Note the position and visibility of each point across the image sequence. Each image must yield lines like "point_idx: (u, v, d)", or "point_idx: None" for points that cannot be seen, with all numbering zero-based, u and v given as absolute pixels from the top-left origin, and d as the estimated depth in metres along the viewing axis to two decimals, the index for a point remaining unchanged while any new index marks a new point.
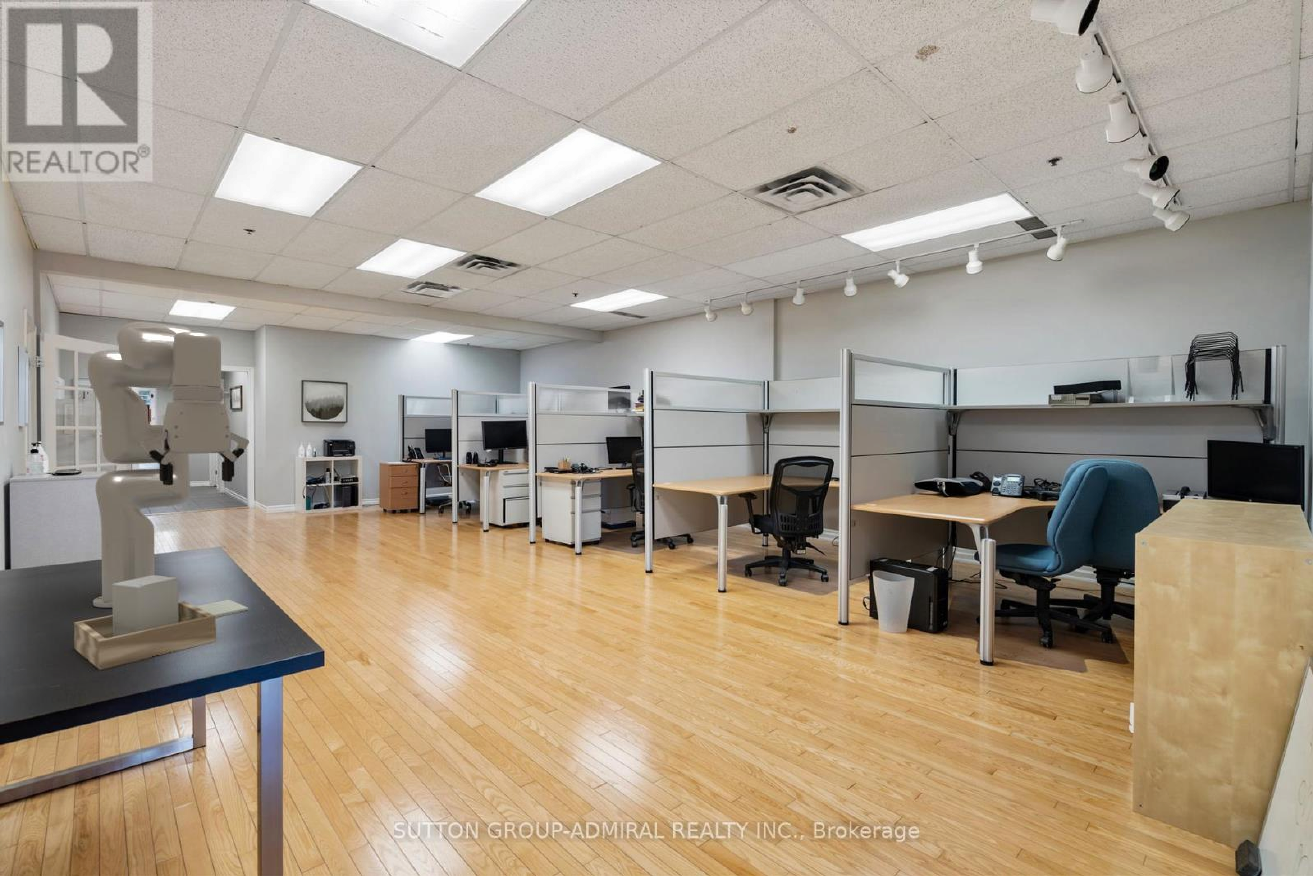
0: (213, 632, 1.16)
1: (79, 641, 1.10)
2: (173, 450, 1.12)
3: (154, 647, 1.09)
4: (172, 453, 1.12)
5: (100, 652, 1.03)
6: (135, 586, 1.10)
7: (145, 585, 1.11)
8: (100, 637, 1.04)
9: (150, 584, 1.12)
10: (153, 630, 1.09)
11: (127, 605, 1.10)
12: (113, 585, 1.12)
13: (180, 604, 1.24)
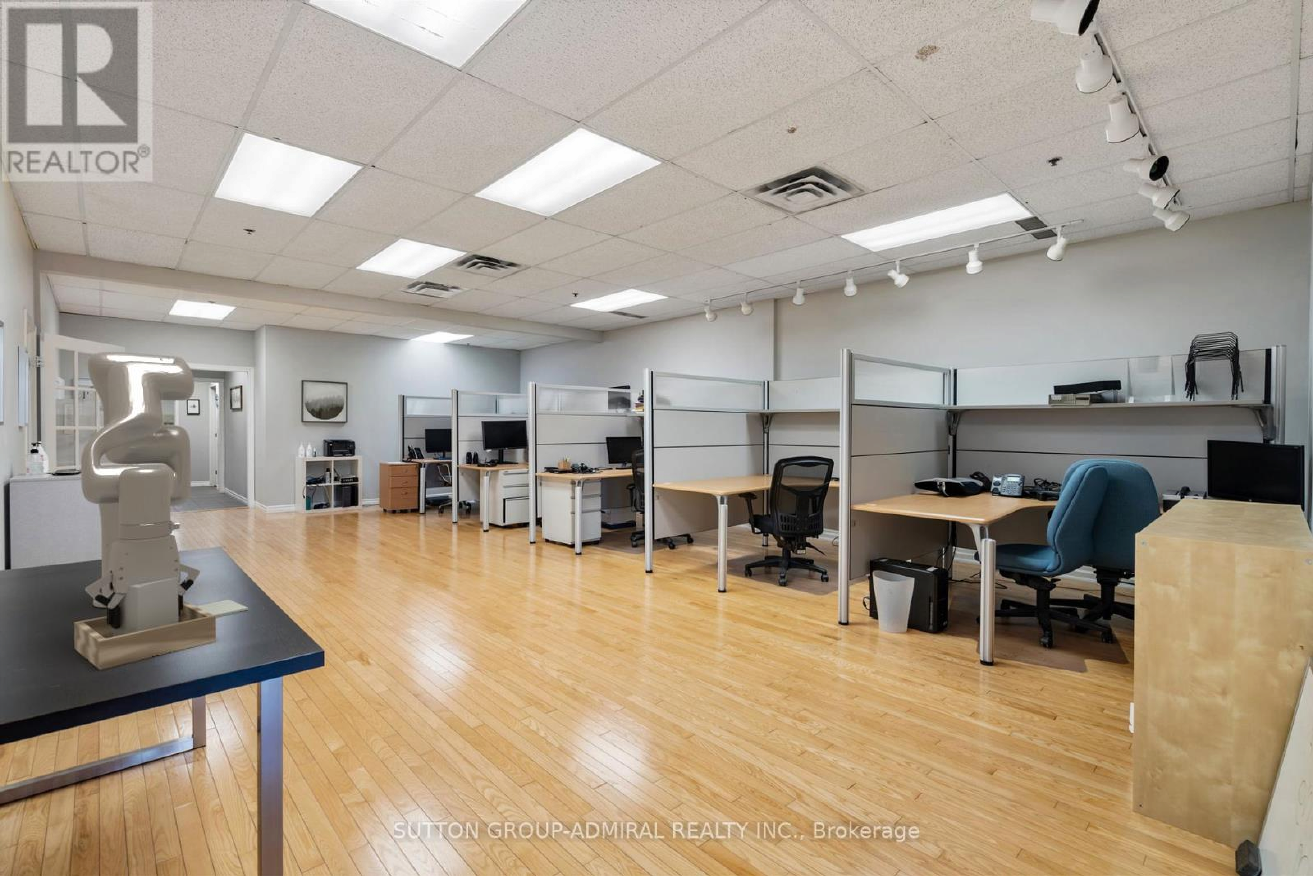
0: (213, 632, 1.16)
1: (79, 641, 1.10)
2: (118, 592, 1.09)
3: (154, 647, 1.09)
4: (118, 595, 1.10)
5: (100, 652, 1.03)
6: (135, 586, 1.10)
7: (145, 585, 1.11)
8: (100, 637, 1.04)
9: (150, 584, 1.12)
10: (153, 630, 1.09)
11: (127, 605, 1.10)
12: None
13: None
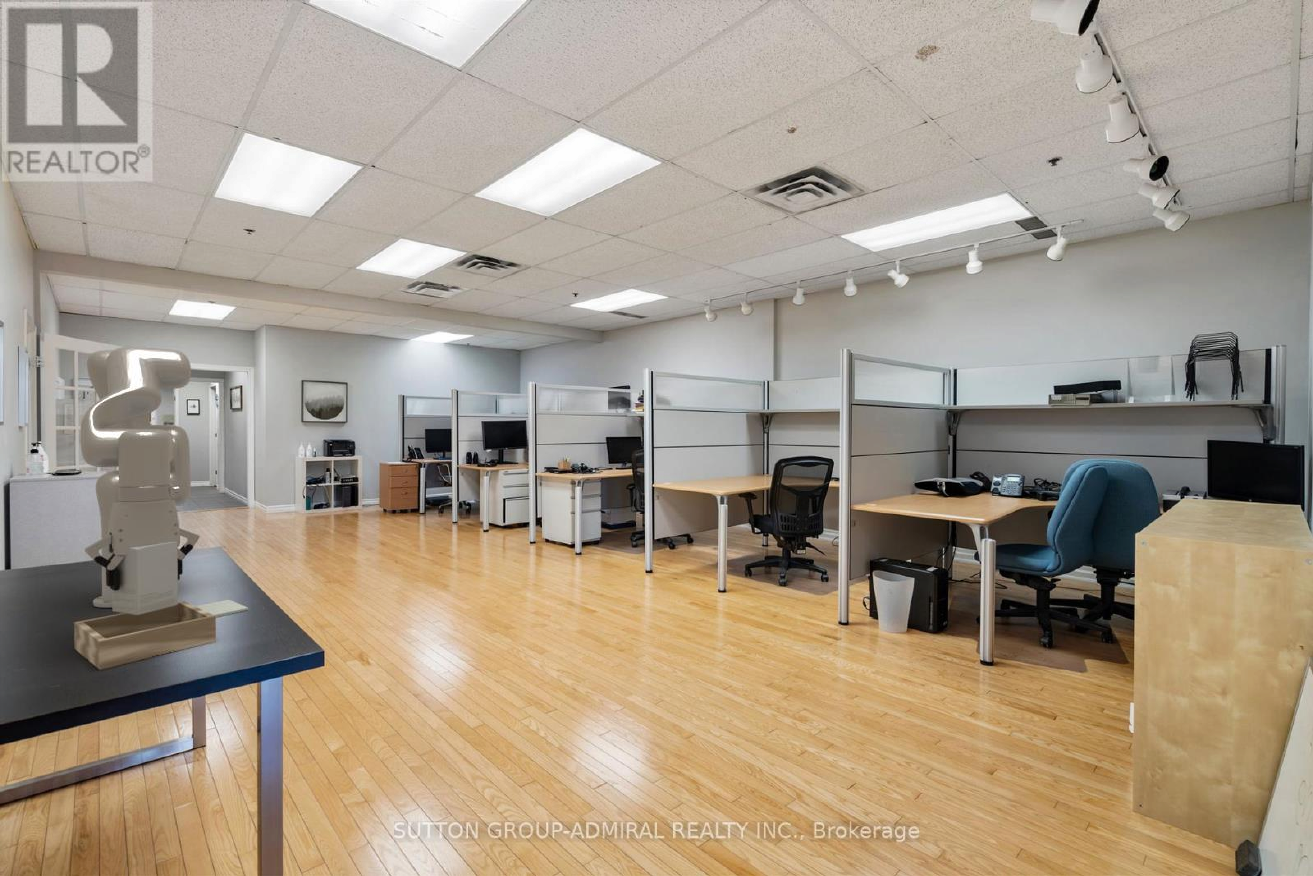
0: (213, 632, 1.16)
1: (79, 641, 1.10)
2: (117, 554, 1.09)
3: (154, 647, 1.09)
4: (118, 557, 1.10)
5: (100, 652, 1.03)
6: (134, 548, 1.10)
7: (144, 547, 1.11)
8: (100, 637, 1.04)
9: (149, 547, 1.12)
10: (153, 630, 1.09)
11: (127, 567, 1.10)
12: None
13: (180, 604, 1.24)
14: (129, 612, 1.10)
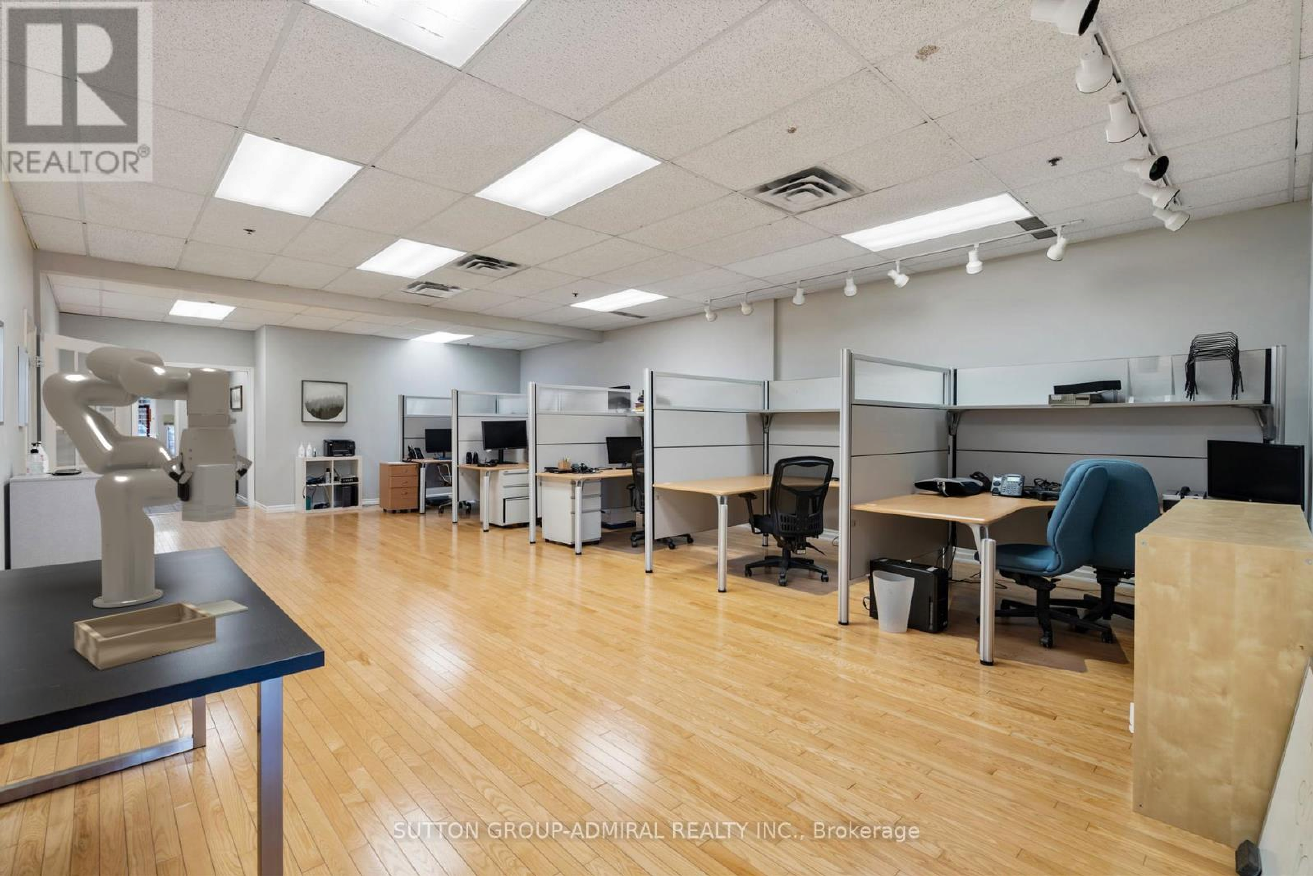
0: (213, 632, 1.16)
1: (79, 641, 1.10)
2: (187, 470, 1.29)
3: (154, 647, 1.09)
4: (188, 473, 1.30)
5: (100, 652, 1.03)
6: (202, 466, 1.30)
7: (210, 466, 1.31)
8: (100, 637, 1.04)
9: (214, 465, 1.32)
10: (153, 630, 1.09)
11: (195, 482, 1.30)
12: (182, 466, 1.32)
13: (180, 604, 1.24)
14: (197, 520, 1.30)
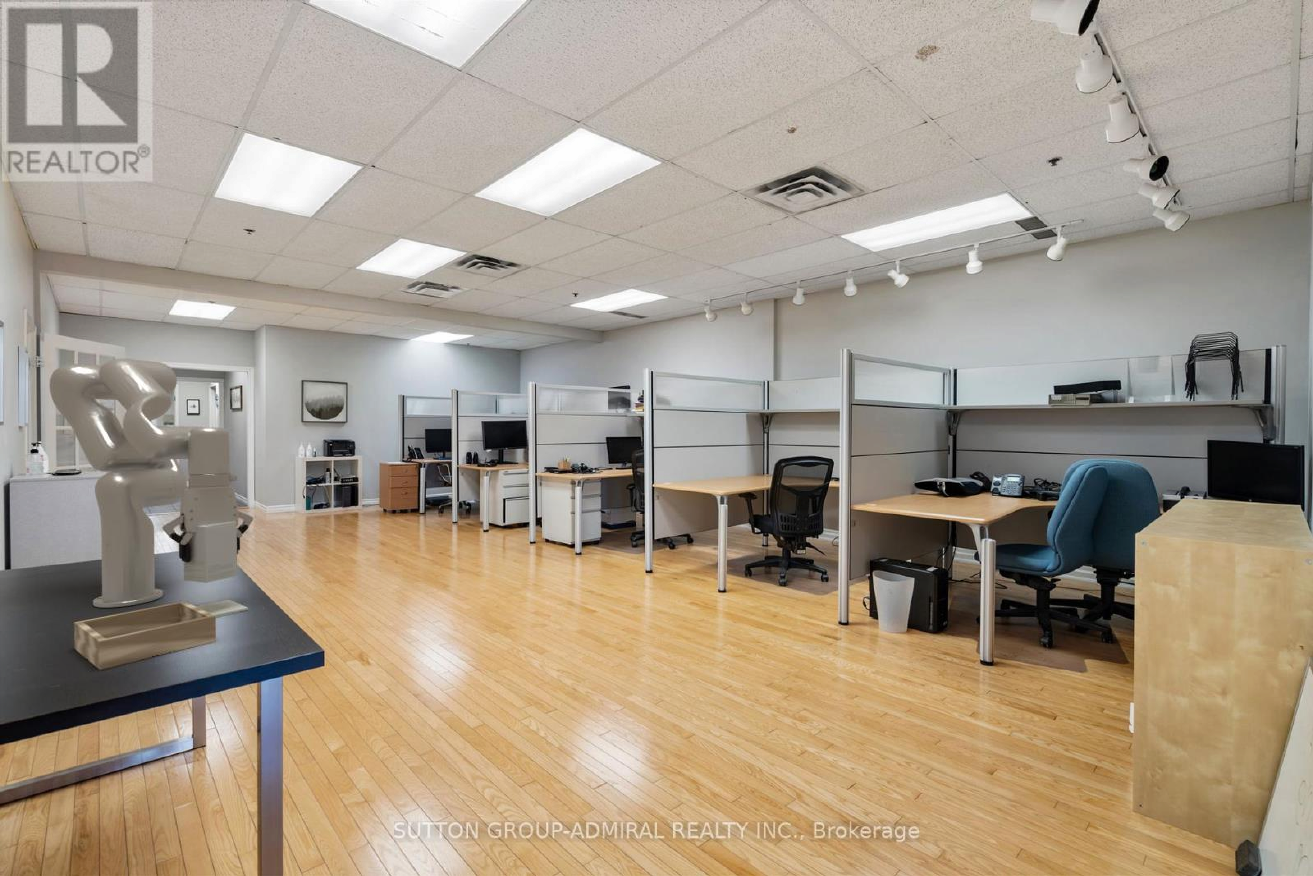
0: (213, 632, 1.16)
1: (79, 641, 1.10)
2: (189, 531, 1.30)
3: (154, 647, 1.09)
4: (189, 534, 1.30)
5: (100, 652, 1.03)
6: (203, 526, 1.30)
7: (211, 525, 1.31)
8: (100, 637, 1.04)
9: (215, 525, 1.32)
10: (153, 630, 1.09)
11: (196, 543, 1.31)
12: (183, 526, 1.32)
13: (180, 604, 1.24)
14: (199, 580, 1.30)
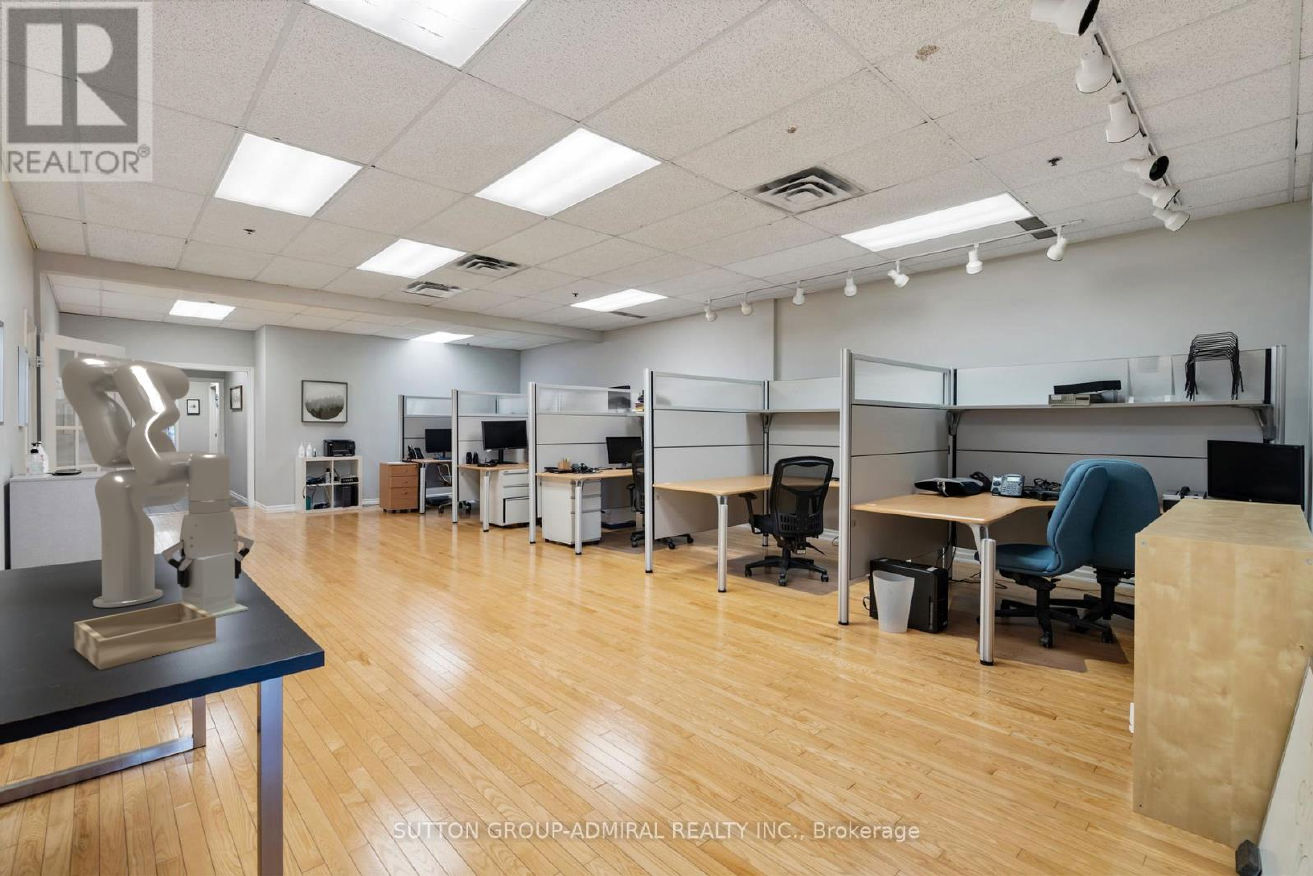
0: (213, 632, 1.16)
1: (79, 641, 1.10)
2: (189, 558, 1.30)
3: (154, 647, 1.09)
4: (188, 560, 1.30)
5: (100, 652, 1.03)
6: (200, 558, 1.30)
7: (208, 558, 1.31)
8: (100, 637, 1.04)
9: (212, 557, 1.32)
10: (153, 630, 1.09)
11: (194, 575, 1.31)
12: None
13: (180, 604, 1.24)
14: None
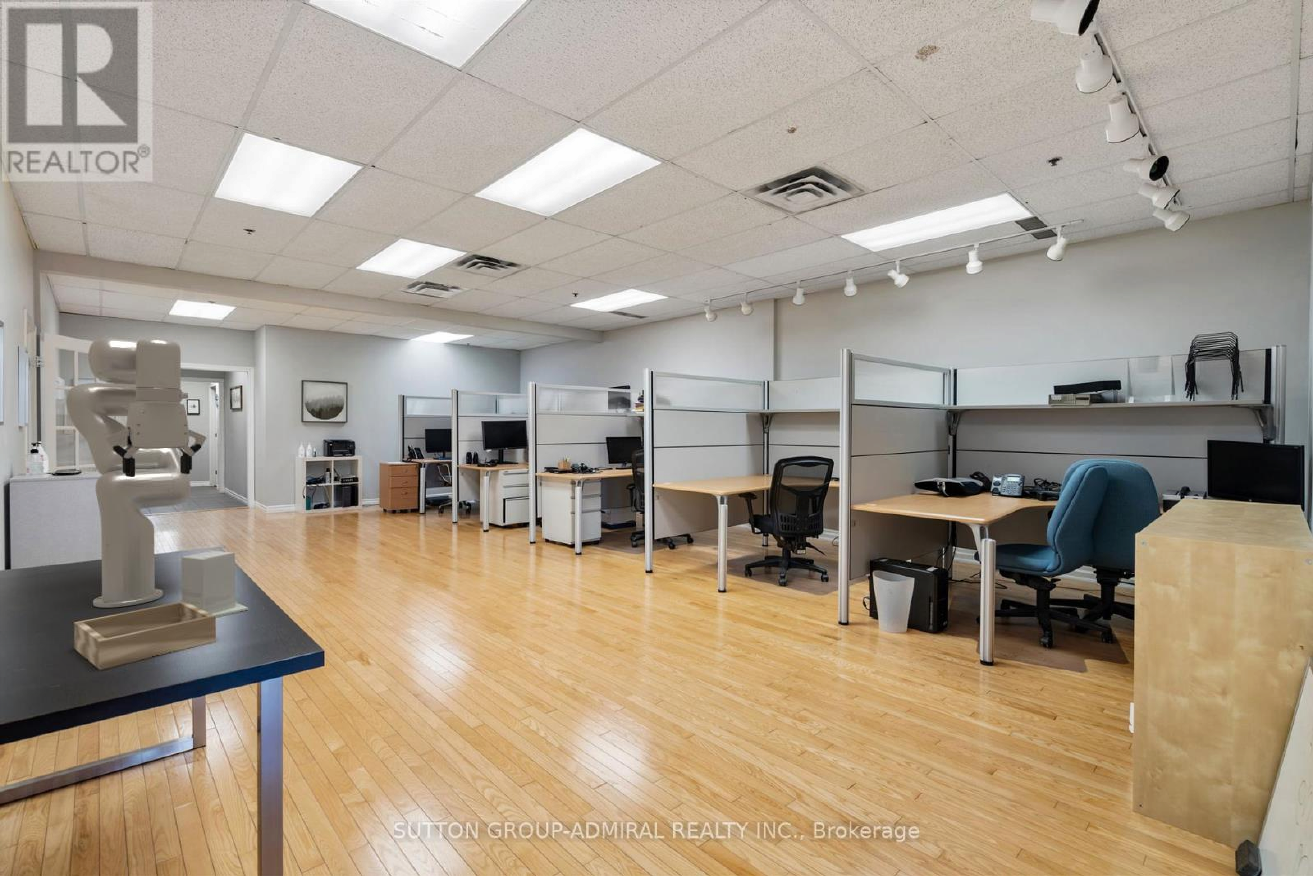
0: (213, 632, 1.16)
1: (79, 641, 1.10)
2: (135, 445, 1.25)
3: (154, 647, 1.09)
4: (134, 448, 1.25)
5: (100, 652, 1.03)
6: (200, 558, 1.30)
7: (208, 558, 1.31)
8: (100, 637, 1.04)
9: (212, 557, 1.32)
10: (153, 630, 1.09)
11: (194, 575, 1.31)
12: (182, 558, 1.32)
13: (180, 604, 1.24)
14: None
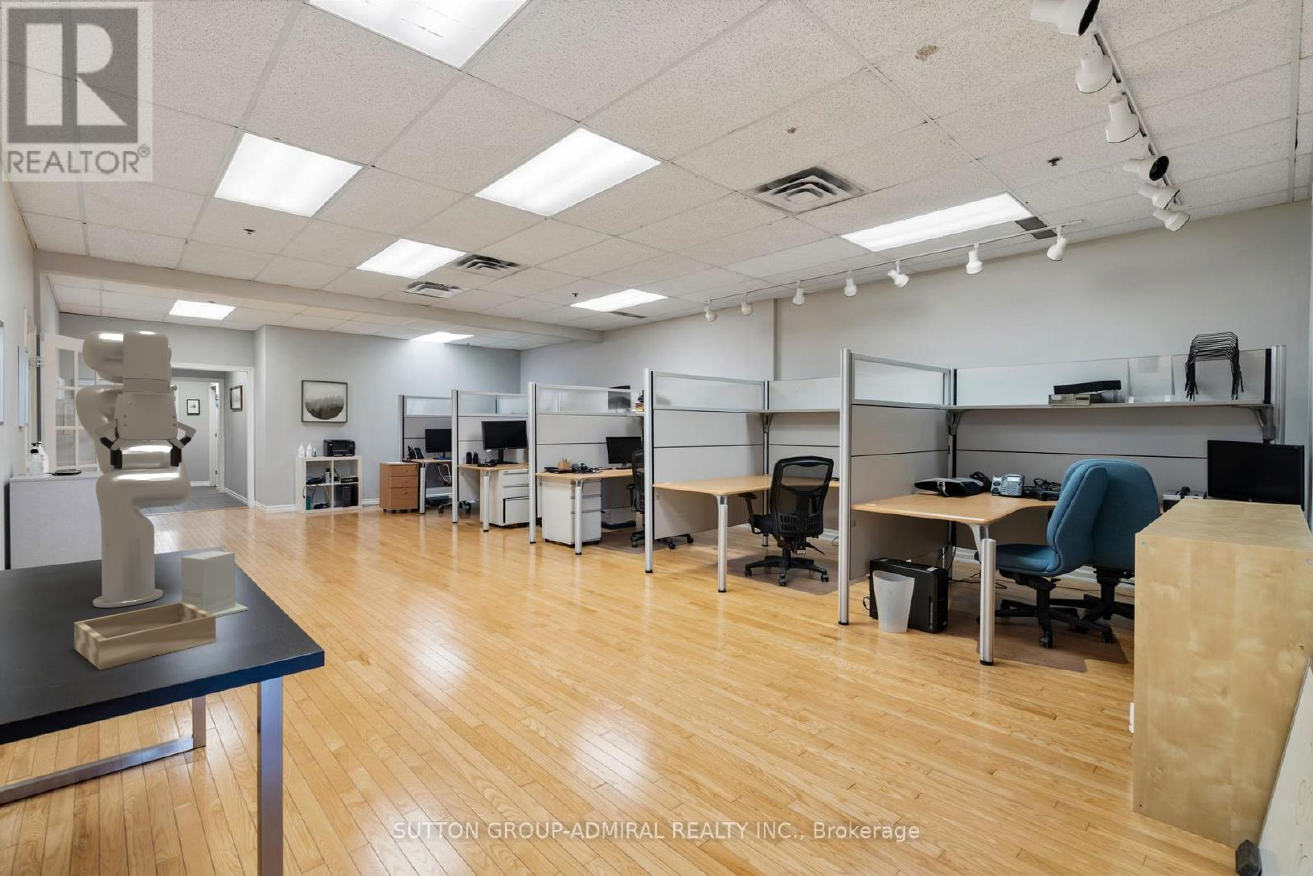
0: (213, 632, 1.16)
1: (79, 641, 1.10)
2: (122, 437, 1.23)
3: (154, 647, 1.09)
4: (121, 440, 1.24)
5: (100, 652, 1.03)
6: (200, 558, 1.30)
7: (208, 558, 1.31)
8: (100, 637, 1.04)
9: (212, 557, 1.32)
10: (153, 630, 1.09)
11: (194, 575, 1.31)
12: (182, 558, 1.32)
13: (180, 604, 1.24)
14: None
